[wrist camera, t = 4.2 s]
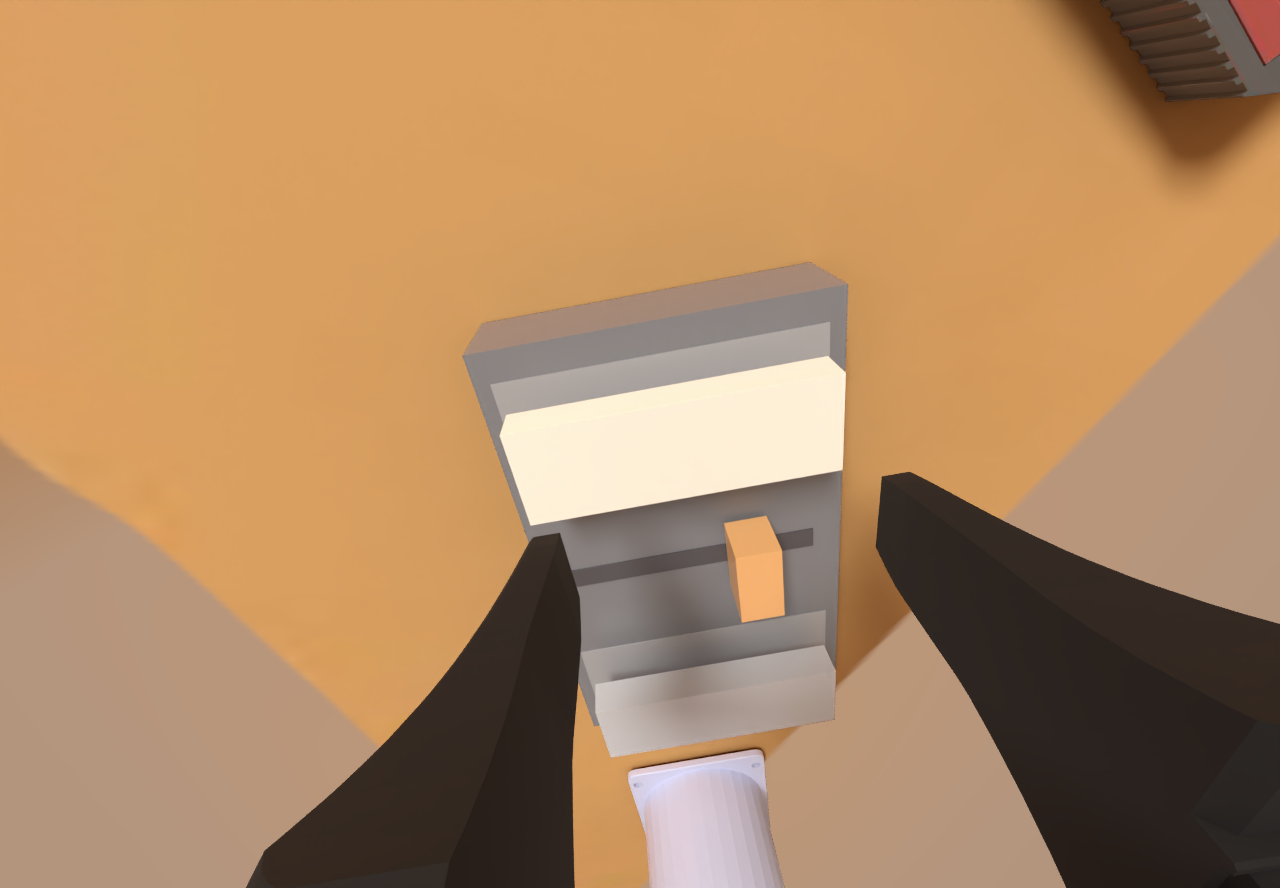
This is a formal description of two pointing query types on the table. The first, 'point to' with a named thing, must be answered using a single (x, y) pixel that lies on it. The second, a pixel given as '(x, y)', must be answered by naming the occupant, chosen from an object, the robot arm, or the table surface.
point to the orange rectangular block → (755, 568)
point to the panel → (690, 527)
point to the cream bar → (678, 440)
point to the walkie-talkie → (1205, 45)
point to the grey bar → (716, 701)
